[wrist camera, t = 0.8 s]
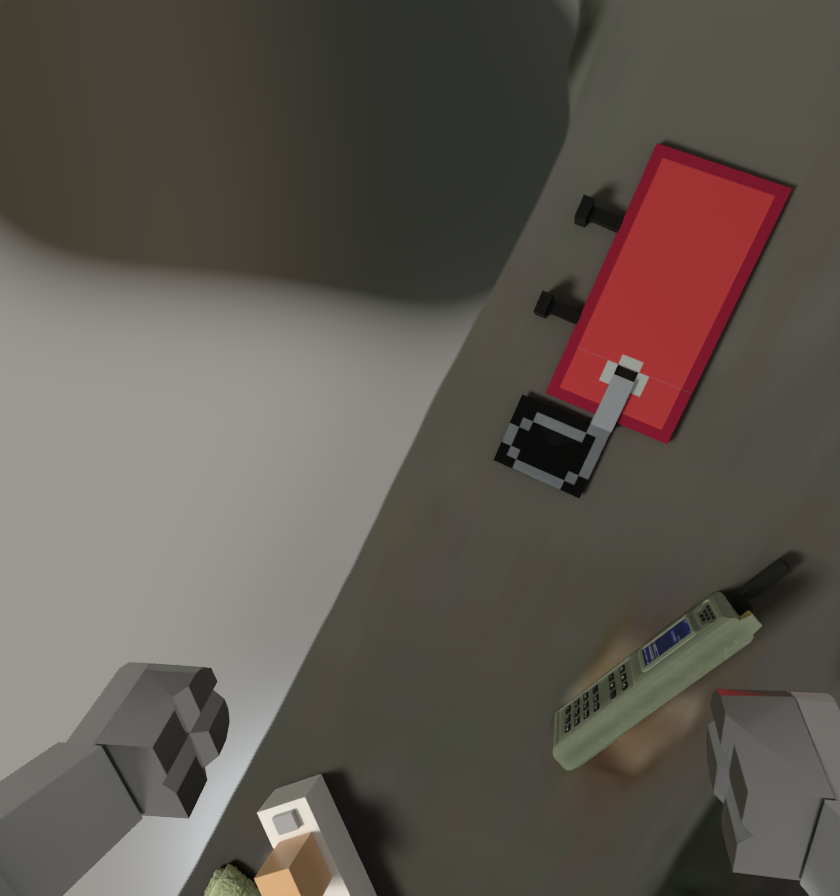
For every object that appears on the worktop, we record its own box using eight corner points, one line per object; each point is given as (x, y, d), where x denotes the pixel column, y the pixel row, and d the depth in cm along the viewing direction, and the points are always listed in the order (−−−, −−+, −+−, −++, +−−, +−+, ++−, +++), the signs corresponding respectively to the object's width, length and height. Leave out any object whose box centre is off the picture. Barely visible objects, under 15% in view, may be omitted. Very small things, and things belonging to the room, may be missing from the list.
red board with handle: (476, 450, 61) (627, 518, 58) (472, 453, 58) (630, 524, 55) (613, 135, 55) (786, 193, 53) (615, 122, 53) (798, 182, 50)
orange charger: (339, 863, 66) (310, 918, 59) (308, 872, 67) (276, 927, 60) (319, 818, 66) (288, 868, 59) (288, 828, 67) (253, 878, 61)
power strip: (409, 965, 67) (396, 1006, 63) (361, 976, 69) (345, 1017, 65) (321, 773, 68) (302, 800, 64) (275, 789, 70) (254, 816, 65)
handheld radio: (549, 709, 61) (767, 543, 55) (573, 735, 61) (794, 572, 55) (546, 749, 55) (793, 567, 49) (573, 779, 55) (824, 599, 48)
